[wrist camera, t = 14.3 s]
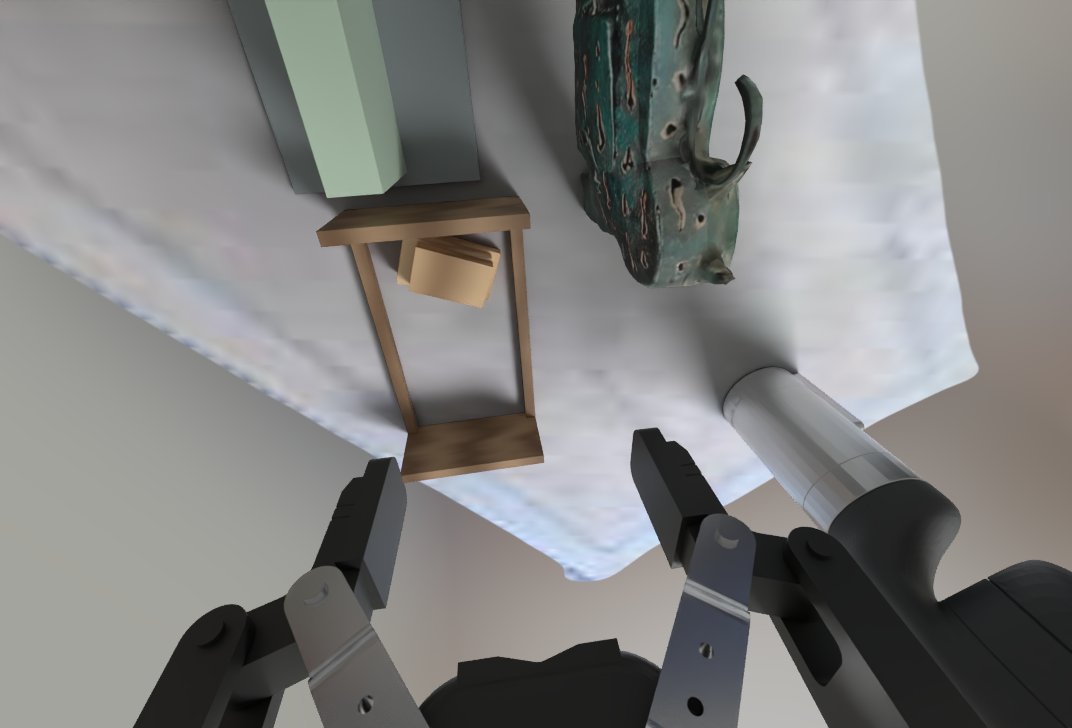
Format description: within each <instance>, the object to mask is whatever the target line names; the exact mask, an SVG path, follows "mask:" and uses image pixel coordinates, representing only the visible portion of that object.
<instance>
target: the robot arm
mask: <svg viewBox="0 0 1072 728" xmlns="http://www.w3.org/2000/svg"><path fill="white" fill-rule="evenodd" d="M723 413H724V416H725V418H726V420H727V421H728V422H729V423H730V425H731V426H732V427H733V428H734V429H735V430H736V432H737V433H738V434H739V435H740V436H741V438H742V439H743V440H744V441H745V442H746V444H747V445H748V446H749V447H750V448H751V450H752V451H753V452H754V453H755V454H756V455H757V457H758V458H759V459H760V460H761V461H762V462H763V464H764V465H765V466H766V467H767V468H768V470H769V471H770V472H771V473H772V474H773V475H774V477H775V478H776V479H777V480H778V481H779V483H780V484H781V485H782V486H783V487H784V488H785V489H786V491H787V492H788V493H789V494H790V495H791V497H792V498H793V499H794V500H795V501H796V503H797V504H798V505H799V506H800V507H801V508H802V510H803V511H804V512H805V513H806V514H807V515H808V516H809V518H810V519H811V520H812V521H813V522H814V524H815V525H816V526H817V527H818V528H819V529H820V530H818V529H815V528H811V527H798V528H795V529H794V530H792V531H791V532H790V534H789V536H788V538H785V537H779V536H773V535H767V534H761V533H756V532H753V531H751V530H750V529H749V527H748V526H747V525H745V524H744V523H743V522H742V521H740V520H738V519H737V518H735V517H732V516H729V515H728V514H727V512H726V511H725V509H724V508H723V506H722V504H721V503H720V501H719V500H718V498H717V497H716V495H715V493H714V492H713V490H712V489H711V487H710V486H709V484H708V482H707V481H706V479H705V478H704V476H702V474H701V471H700V470H699V468H698V467H697V465H695V462H694V460H693V459H692V457H691V456H690V454H689V453H688V451H687V450H686V449H684V448H683V447H682V446H681V445H679V444H678V443H677V442H675V441H669V442H666V440H665V439H664V437H663V435H662V434H661V432H660V430H659V429H658V428H648V429H639V430H635V431H634V433H633V442H632V452H631V462H630V466H631V473H632V477H633V480H634V483H635V485H636V487H637V490H638V492H639V494H640V497H641V499H642V501H643V504H644V506H645V508H646V511H647V513H648V515H649V518H650V520H651V522H652V525H653V527H654V529H655V532H656V534H657V536H658V539H659V541H660V543H661V546H662V548H663V550H664V553H665V555H666V557H667V560H668V562H669V564H670V567H671V569H673V568H680V567H683V568H684V570H685V572H686V575H687V579H686V582H685V585H684V588H683V592H682V596H681V600H680V603H679V607H678V610H677V614H676V618H675V622H674V625H673V629H672V632H671V636H670V640H669V644H668V647H667V651H666V655H665V658H664V662H663V665H662V669H660V668H659V667H658V666H656V665H655V664H654V663H652V662H650V661H648V660H647V659H645V658H643V657H640V656H638V655H636V654H633V653H629V652H626V651H620V649H619V645H618V642H617V638H614V639H609V640H602V641H595V642H589V643H582V644H578V645H576V646H574V647H571V648H569V649H567V650H565V651H563V652H561V653H559V654H557V655H555V656H553V657H551V658H549V659H547V660H545V661H542V662H531V661H524V660H518V659H511V658H504V657H492V658H485V659H479V660H473V661H466V662H459V663H458V674H457V676H456V677H454V678H452V679H450V680H449V681H447V682H446V683H444V684H443V685H441V686H440V687H439V688H437V689H436V690H435V691H434V692H433V693H432V694H431V695H430V696H429V697H428V698H427V699H426V700H425V701H424V702H423V703H422V704H421V706H420V707H419V708H418V706H417V705H416V703H415V701H414V699H413V698H412V696H411V694H410V692H409V690H408V689H407V687H406V685H405V683H404V682H403V680H402V678H401V676H400V674H399V673H398V671H397V669H396V667H395V665H394V664H393V662H392V660H391V658H390V657H389V655H388V653H387V651H386V649H385V648H384V646H383V644H382V642H381V640H380V639H379V637H378V635H377V633H376V632H375V630H374V628H373V627H372V626H371V624H370V621H371V616H372V612H373V610H375V609H383V608H386V605H387V600H388V595H389V590H390V585H391V580H392V575H393V570H394V565H395V560H396V556H397V550H398V545H399V541H400V536H401V531H402V526H403V521H404V516H405V511H406V504H407V496H406V489H405V485H404V482H403V479H402V476H401V473H400V470H399V466H398V463H397V460H396V458H395V457H389V458H380V459H372V460H370V461H369V462H368V465H367V468H366V470H365V473H364V476H363V477H357V478H353V479H352V480H351V482H350V483H349V484H348V485H347V486H346V487H345V489H344V490H343V491H342V493H341V495H340V498H339V501H338V503H337V506H336V507H337V508H336V509H335V511H334V514H333V516H332V521H331V522H330V524H329V526H328V529H327V531H326V534H325V536H324V539H323V542H322V544H321V547H320V549H319V552H318V555H317V557H316V560H315V562H314V565H313V567H312V569H311V570H310V571H309V572H307V573H306V574H304V575H303V576H301V577H300V578H299V579H298V580H297V581H296V582H295V583H294V584H293V585H292V587H291V588H290V590H289V591H288V593H287V594H286V595H285V596H283V597H281V598H279V599H277V600H274V601H272V602H270V603H267V604H265V605H263V606H260V607H258V608H256V609H253V610H251V611H249V612H246V611H245V610H244V609H243V608H242V607H241V606H239V605H234V604H230V605H224V606H220V607H218V608H215V609H213V610H211V611H210V612H208V613H206V614H205V615H203V616H202V617H201V618H199V619H198V620H197V621H196V622H195V623H194V624H193V625H192V626H191V627H190V628H189V629H188V630H187V631H186V632H185V634H184V635H183V636H182V638H181V640H180V641H179V643H178V645H177V647H176V649H175V651H174V652H173V654H172V656H171V658H170V660H169V662H168V663H167V665H166V667H165V669H164V671H163V673H162V675H161V677H160V678H159V680H158V682H157V684H156V686H155V688H154V689H153V691H152V693H151V695H150V697H149V699H148V701H147V702H146V704H145V706H144V708H143V710H142V712H141V714H140V715H139V717H138V719H137V721H136V723H135V725H134V727H133V728H273V727H274V724H275V720H276V717H277V713H278V710H279V707H280V704H281V701H282V697H283V694H284V690H285V688H288V687H290V686H291V685H293V684H296V683H298V682H300V681H301V680H304V679H306V678H307V677H310V679H309V681H308V684H309V688H310V691H311V694H312V697H313V699H314V702H315V705H316V707H317V710H318V713H319V715H320V718H321V721H322V723H323V726H324V728H737V725H738V716H739V708H740V700H741V692H742V684H743V676H744V668H745V660H746V652H747V644H748V636H749V628H750V613H749V612H748V611H753V612H757V613H762V614H767V615H769V616H770V618H771V620H772V622H773V623H774V625H775V627H776V629H777V631H778V633H779V635H780V636H781V639H782V640H783V642H784V644H785V646H786V648H787V650H788V652H789V654H790V656H791V657H792V659H793V661H794V663H795V665H796V666H797V669H798V671H799V673H800V674H801V676H802V678H803V680H804V682H805V684H806V686H807V688H808V690H809V691H810V693H811V695H812V697H813V699H814V701H815V703H816V705H817V706H818V708H819V710H820V712H821V714H822V716H823V718H824V720H825V722H826V724H827V725H828V727H829V728H1072V572H1071V571H1069V570H1067V569H1065V568H1062V567H1060V566H1058V565H1055V564H1052V563H1049V562H1046V561H1041V560H1028V561H1025V562H1021V563H1018V564H1015V565H1012V566H1010V567H1008V568H1006V569H1004V570H1001V571H999V572H998V573H995V574H994V575H991V576H989V577H988V579H989V580H990V581H989V580H987V579H983V580H981V581H979V582H977V583H975V584H974V585H972V586H970V587H968V588H966V589H964V590H962V591H960V592H958V593H956V594H954V595H952V596H950V597H948V598H946V599H945V600H942V601H940V602H938V601H937V600H936V598H935V595H934V590H933V583H934V577H935V573H936V569H937V566H938V564H939V562H940V560H941V557H942V556H943V554H944V553H945V551H946V550H947V549H948V547H949V546H950V544H951V543H952V541H953V540H954V538H955V537H956V535H957V533H958V531H959V528H960V525H961V516H960V513H959V510H958V509H957V508H956V506H955V505H954V504H953V503H952V502H951V501H950V500H949V499H948V498H947V497H946V496H944V495H943V494H942V493H941V492H939V491H938V490H937V489H936V488H934V487H933V486H932V485H930V484H929V483H928V482H927V481H925V480H924V479H923V478H922V477H920V476H919V475H918V474H917V473H915V472H914V471H913V470H911V469H910V468H909V467H908V466H906V465H905V464H904V463H903V462H902V461H900V460H899V459H898V458H896V457H895V456H894V455H892V454H891V453H890V452H889V451H887V450H886V449H885V448H884V447H882V446H881V445H880V444H879V443H877V442H876V441H875V440H874V439H872V438H871V437H870V436H869V435H867V434H866V433H865V432H864V431H863V430H864V424H863V423H862V422H861V421H860V420H859V419H857V418H856V417H855V416H854V415H852V414H851V413H850V412H848V411H847V410H846V409H845V408H843V407H842V406H841V405H839V404H838V403H837V402H836V401H834V400H833V399H832V398H830V397H829V396H828V395H827V394H825V393H824V392H823V391H821V390H820V389H819V388H818V387H816V386H815V385H814V384H812V383H811V382H810V381H809V380H807V379H806V378H805V377H803V376H802V375H801V374H792V373H790V372H788V371H787V370H785V369H782V368H778V367H769V368H763V369H760V370H757V371H755V372H753V373H750V374H749V375H747V376H745V377H744V378H742V379H741V380H740V381H739V382H738V383H736V384H735V385H734V387H733V388H732V389H731V390H730V392H729V393H728V395H727V396H726V399H725V401H724V406H723Z"/></svg>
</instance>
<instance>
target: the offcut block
mask: <svg viewBox="0 0 1072 728" xmlns="http://www.w3.org/2000/svg"><path fill="white" fill-rule="evenodd" d="M500 255H501V253H500V250H499V249H495V248H492V247H488V246H485V245H481V244H477V243H474V242H470V241H466V240H463V239H459V238H456V237H452V236H440V237H429V238H418V239H406V240H402V246H401V253H400V260H399V266H398V273H397V283H398V284H402V285H406V286H409V291H411V292H415V293H420V294H424V295H428V296H433V297H437V298H441V299H445V300H450V301H454V302H458V303H463V304H467V305H471V306H476V307H480V308H483V305H484V301H485V300H488V299H489V295H490V292H491V288H492V284H493V281H494V277H495V273H496V270H497V266H498V262H499V259H500Z"/></svg>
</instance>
